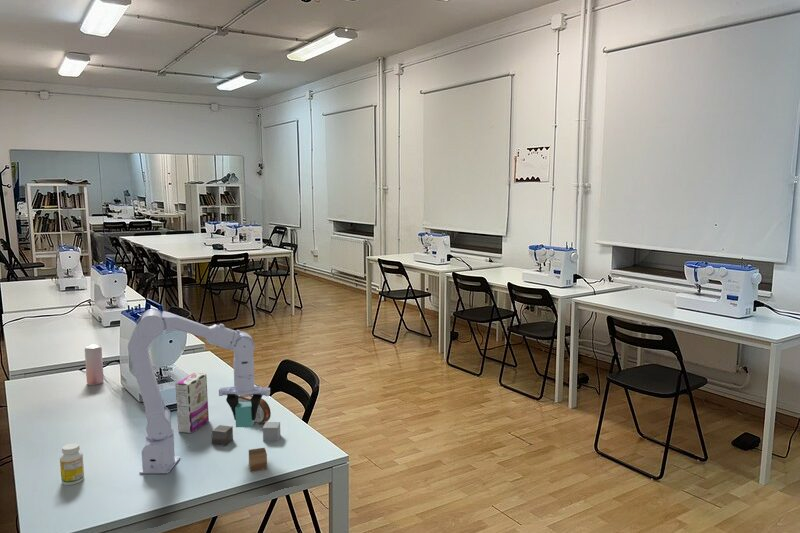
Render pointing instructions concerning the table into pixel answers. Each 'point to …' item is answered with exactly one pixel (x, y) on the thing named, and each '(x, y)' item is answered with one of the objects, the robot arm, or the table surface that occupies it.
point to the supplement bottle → (71, 464)
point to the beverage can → (94, 364)
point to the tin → (262, 410)
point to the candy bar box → (192, 402)
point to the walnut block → (257, 459)
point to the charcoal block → (222, 435)
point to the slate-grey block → (271, 431)
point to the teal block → (244, 414)
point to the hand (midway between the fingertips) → (245, 418)
